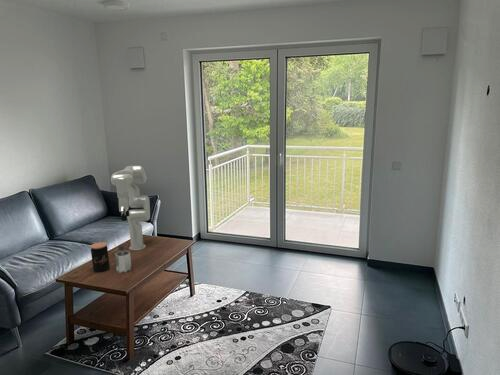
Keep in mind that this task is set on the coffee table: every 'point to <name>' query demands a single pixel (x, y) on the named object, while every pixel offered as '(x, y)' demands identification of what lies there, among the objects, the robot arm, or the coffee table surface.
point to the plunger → (122, 248)
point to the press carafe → (123, 261)
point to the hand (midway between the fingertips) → (125, 218)
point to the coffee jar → (100, 256)
